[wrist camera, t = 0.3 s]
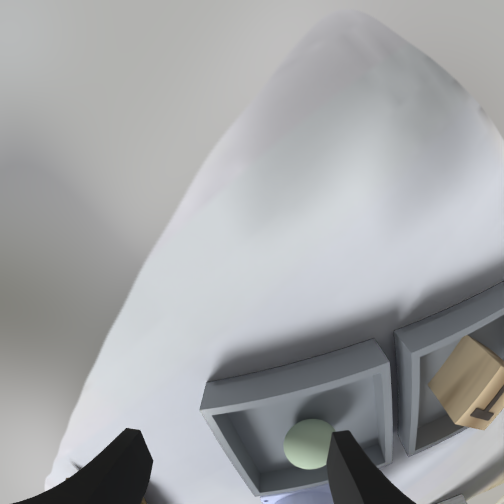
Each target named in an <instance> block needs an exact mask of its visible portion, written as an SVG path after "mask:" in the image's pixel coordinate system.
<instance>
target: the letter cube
mask: <svg viewBox="0 0 504 504" xmlns="http://www.w3.org/2000/svg"><path fill="white" fill-rule="evenodd" d="M427 385H428V386H429V387H430V389H431V390H432V392H433V393H434V395H435V396H436V397H437V399H438V400H439V402H440V403H441V405H442V406H443V407H444V409H445V410H446V412H447V413H448V415H449V416H450V418H451V419H452V421H453V422H454V424H457V425H461V426H466V427H471V428H475V429H480V430H485V429H486V428H487V427H488V426H489V424H490V423H491V422H492V421H493V420H494V419H495V418H496V416H497V415H498V414H499V413H500V412H501V410H502V409H503V408H504V361H503V360H502V359H501V358H500V357H499V356H498V355H497V354H496V353H494V352H493V351H492V350H491V349H489V348H488V347H486V346H485V345H483V344H481V343H480V342H478V341H477V340H475V339H474V338H472V337H470V336H469V335H466V336H464V337H462V338H461V340H460V341H459V343H458V344H457V346H456V347H455V349H454V350H453V352H452V353H451V354H450V356H449V357H448V358H447V360H446V361H445V363H444V364H443V365H442V367H441V368H440V369H439V371H438V372H437V373H436V374H435V376H434V377H433V378H432V379H431V381H430V382H429V383H428V384H427Z"/></svg>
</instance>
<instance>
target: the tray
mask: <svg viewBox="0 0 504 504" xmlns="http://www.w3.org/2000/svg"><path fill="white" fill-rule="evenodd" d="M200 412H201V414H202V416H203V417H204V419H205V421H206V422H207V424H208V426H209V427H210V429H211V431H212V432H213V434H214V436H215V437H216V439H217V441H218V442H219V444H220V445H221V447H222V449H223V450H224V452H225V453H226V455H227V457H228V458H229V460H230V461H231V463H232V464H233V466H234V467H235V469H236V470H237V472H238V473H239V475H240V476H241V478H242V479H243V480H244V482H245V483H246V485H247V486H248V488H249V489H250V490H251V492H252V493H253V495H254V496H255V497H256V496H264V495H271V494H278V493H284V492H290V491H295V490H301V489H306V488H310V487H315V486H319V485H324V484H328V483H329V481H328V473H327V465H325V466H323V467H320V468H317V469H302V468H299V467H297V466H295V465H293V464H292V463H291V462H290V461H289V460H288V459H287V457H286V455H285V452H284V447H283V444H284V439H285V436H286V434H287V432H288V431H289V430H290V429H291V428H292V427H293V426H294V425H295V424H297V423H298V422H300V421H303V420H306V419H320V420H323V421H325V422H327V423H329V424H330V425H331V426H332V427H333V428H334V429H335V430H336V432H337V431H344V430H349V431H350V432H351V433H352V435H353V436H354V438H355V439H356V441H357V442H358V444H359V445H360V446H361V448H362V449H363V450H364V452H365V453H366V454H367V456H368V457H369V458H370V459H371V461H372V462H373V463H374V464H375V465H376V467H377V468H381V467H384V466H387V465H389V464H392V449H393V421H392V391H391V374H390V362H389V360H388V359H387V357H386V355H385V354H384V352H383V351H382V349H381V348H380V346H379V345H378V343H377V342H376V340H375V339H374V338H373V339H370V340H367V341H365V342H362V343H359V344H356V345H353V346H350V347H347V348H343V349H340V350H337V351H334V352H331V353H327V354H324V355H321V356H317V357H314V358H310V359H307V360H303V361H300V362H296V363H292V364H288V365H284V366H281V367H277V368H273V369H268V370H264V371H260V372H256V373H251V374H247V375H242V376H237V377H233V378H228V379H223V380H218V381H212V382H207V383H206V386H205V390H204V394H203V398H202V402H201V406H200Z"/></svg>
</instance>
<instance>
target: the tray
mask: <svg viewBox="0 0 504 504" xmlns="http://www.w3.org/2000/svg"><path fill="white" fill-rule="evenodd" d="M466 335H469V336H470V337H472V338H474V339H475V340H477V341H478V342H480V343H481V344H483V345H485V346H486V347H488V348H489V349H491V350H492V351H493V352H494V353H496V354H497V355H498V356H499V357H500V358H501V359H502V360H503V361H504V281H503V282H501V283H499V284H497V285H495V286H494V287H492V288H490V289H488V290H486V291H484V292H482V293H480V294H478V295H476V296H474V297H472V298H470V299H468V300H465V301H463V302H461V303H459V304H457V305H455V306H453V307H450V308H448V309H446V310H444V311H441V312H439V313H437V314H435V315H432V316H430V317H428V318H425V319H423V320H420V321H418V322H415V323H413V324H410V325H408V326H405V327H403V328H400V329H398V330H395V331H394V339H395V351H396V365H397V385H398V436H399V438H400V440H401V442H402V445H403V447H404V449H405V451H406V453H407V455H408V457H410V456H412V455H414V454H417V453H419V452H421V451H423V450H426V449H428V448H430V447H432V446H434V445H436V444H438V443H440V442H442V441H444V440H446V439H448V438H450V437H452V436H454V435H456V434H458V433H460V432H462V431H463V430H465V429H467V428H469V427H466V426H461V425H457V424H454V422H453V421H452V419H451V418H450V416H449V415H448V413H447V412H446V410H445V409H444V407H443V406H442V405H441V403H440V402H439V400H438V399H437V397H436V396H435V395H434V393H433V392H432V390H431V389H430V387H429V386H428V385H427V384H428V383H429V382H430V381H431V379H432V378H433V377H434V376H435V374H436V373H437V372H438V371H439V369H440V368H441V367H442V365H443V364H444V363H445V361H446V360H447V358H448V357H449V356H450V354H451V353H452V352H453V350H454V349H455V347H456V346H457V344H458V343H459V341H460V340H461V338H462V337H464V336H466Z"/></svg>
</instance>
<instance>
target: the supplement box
mask: <svg viewBox="0 0 504 504" xmlns="http://www.w3.org/2000/svg"><path fill="white" fill-rule="evenodd" d="M437 504H467V502H466V500H465V498H464V496H463V494H460V495H458V496H456V497H453V498H450V499H448V500H445V501H443V502H440V503H437Z"/></svg>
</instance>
